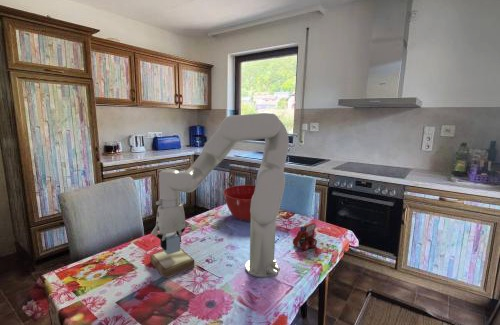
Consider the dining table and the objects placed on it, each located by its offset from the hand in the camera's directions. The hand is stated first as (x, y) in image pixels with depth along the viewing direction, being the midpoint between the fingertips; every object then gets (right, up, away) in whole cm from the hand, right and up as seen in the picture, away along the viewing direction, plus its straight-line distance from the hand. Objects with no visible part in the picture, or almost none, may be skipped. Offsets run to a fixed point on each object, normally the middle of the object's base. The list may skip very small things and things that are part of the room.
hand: (171, 246), depth 103 cm
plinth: (0, -8, +1) cm, 8 cm away
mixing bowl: (+29, 0, +53) cm, 60 cm away
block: (0, -2, 0) cm, 2 cm away
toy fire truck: (+56, -6, +19) cm, 59 cm away
